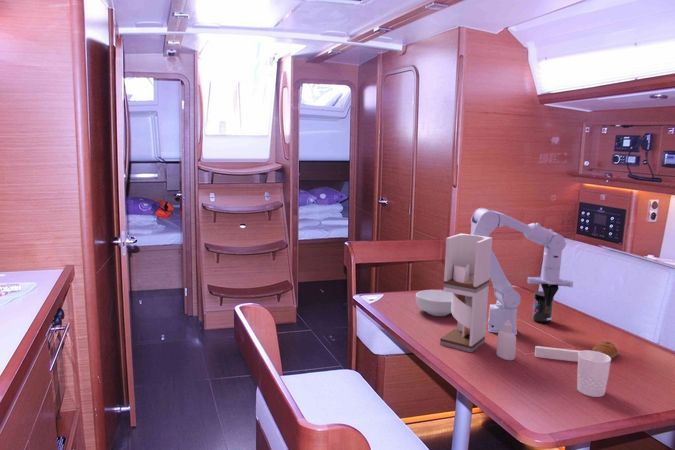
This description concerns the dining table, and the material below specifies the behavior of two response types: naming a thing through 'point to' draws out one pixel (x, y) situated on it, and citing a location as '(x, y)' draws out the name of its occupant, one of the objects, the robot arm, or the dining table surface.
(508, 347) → the eye dropper bottle
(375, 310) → the dining table surface
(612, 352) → the pastry
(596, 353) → the white cup
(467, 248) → the display case
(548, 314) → the supplement container
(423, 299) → the cereal bowl
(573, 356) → the white rectangular bar
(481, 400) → the dining table surface
